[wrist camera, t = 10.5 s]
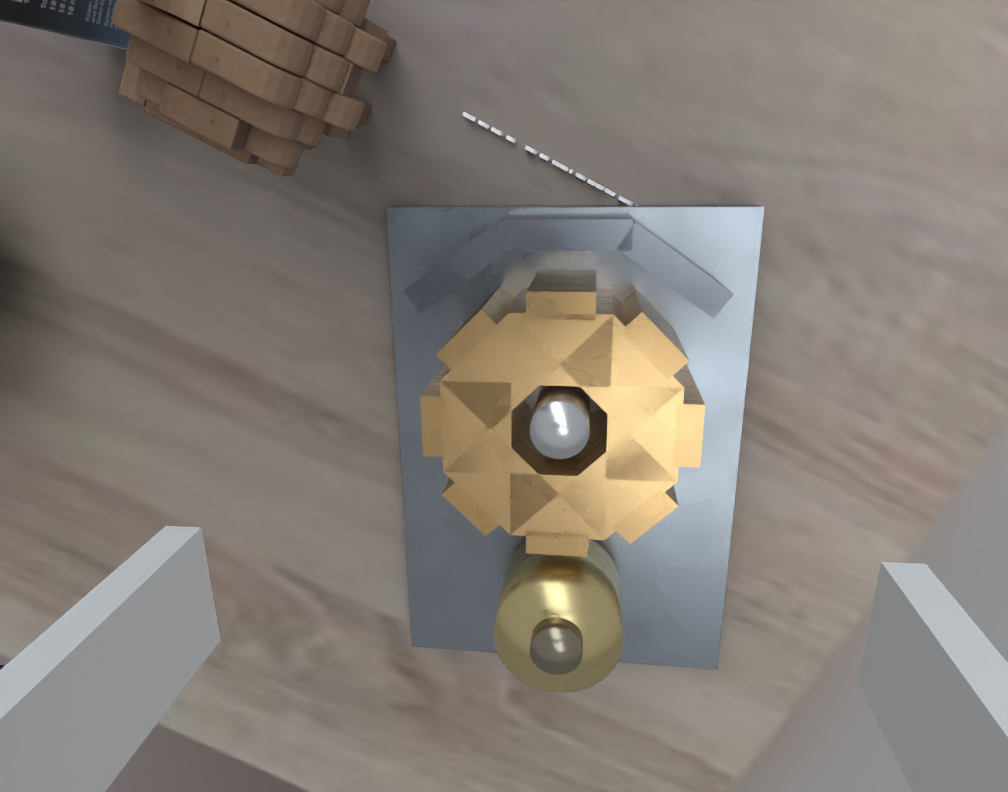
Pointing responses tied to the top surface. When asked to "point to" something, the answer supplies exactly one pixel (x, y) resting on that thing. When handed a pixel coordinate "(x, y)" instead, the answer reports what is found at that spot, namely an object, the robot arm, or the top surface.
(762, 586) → the top surface
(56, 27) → the label tape cartridge
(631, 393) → the gear
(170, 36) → the ostrich figurine
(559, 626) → the carrier
